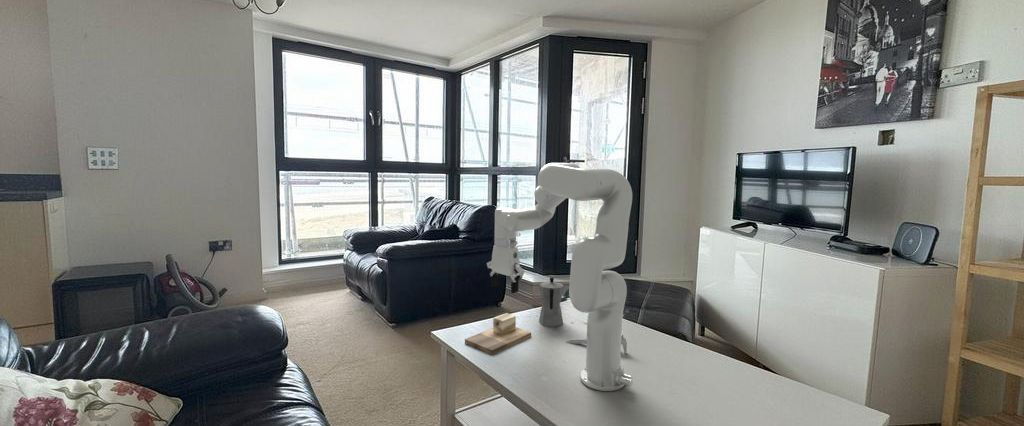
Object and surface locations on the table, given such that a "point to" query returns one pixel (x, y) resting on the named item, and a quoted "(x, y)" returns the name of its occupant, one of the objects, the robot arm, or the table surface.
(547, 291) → the coffeepot
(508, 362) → the table surface
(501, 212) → the robot arm
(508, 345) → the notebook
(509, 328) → the beige block with knob
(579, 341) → the caliper
